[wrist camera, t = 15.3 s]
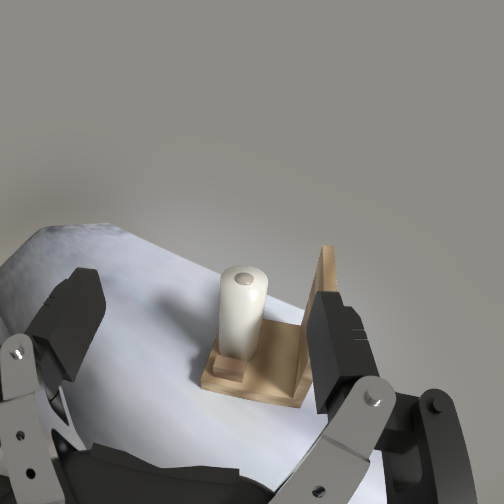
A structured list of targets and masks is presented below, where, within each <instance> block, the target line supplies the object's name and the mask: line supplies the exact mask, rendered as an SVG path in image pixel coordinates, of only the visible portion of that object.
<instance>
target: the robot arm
mask: <svg viewBox="0 0 504 504" xmlns="http://www.w3.org/2000/svg"><path fill="white" fill-rule="evenodd" d="M105 310H106V301H105V297H104V293H103V290H102V286H101V282H100V278H99V275H98V272H97V270H95V269H88V268H80V267H78V268H76V269H75V270H74V272H73V273H72V274H71V276H70V277H69V279H65V280H64V281H62V282H61V283H60V284H58V285H57V286H56V287H55V288H54V290H53V291H52V292H51V294H50V295H49V298H47V299H46V301H45V302H44V306H42V307H41V308H40V310H39V311H38V313H37V314H36V316H35V317H34V319H33V320H32V322H31V323H30V325H29V327H28V328H27V330H26V331H25V333H24V334H15V335H13V336H12V335H11V334H10V332H9V330H8V329H7V327H6V325H5V323H4V321H3V320H2V318H1V316H0V448H1V446H2V451H3V455H4V459H5V464H6V467H7V471H8V475H9V479H10V482H11V485H12V489H11V490H10V491H8V492H6V493H5V494H3V495H1V496H0V504H347V503H348V502H349V500H350V499H351V497H352V496H353V494H354V492H355V491H356V489H357V488H358V486H359V484H360V483H361V481H362V479H363V478H364V476H365V474H366V472H367V470H368V468H369V466H370V461H369V457H370V455H371V453H372V451H373V449H374V450H380V451H382V459H383V467H384V475H385V484H386V494H387V504H477V498H476V491H475V485H474V480H473V475H472V470H471V466H470V461H469V457H468V453H467V448H466V444H465V441H464V437H463V433H462V429H461V426H460V423H459V419H458V416H457V413H456V409H455V406H454V403H453V401H452V399H451V398H450V396H449V395H448V394H446V393H445V392H444V391H442V390H439V389H429V390H427V391H425V392H424V393H423V394H422V395H421V397H416V396H411V395H406V394H400V393H397V392H395V391H394V389H393V387H392V386H391V385H390V384H389V383H388V382H387V381H386V380H384V379H382V378H380V376H379V373H378V370H377V367H376V363H375V360H374V357H373V354H372V351H371V348H370V345H369V342H368V340H367V335H366V333H365V331H364V327H363V324H362V321H361V318H360V316H359V315H358V314H357V313H356V312H355V310H354V309H353V308H352V307H347V306H344V305H343V302H342V299H341V296H340V293H339V292H335V291H317V292H316V295H315V298H314V302H313V305H312V308H311V312H310V315H309V318H308V322H307V329H306V337H307V344H308V350H309V357H310V364H311V371H312V378H313V385H314V393H315V400H316V408H317V414H327V415H328V423H327V425H326V426H325V428H324V429H323V431H322V432H321V433H320V435H319V436H318V438H317V439H316V440H315V442H314V443H313V444H312V446H311V447H310V449H309V450H308V451H307V453H306V454H305V455H304V456H303V458H302V459H301V460H300V462H299V463H298V464H297V465H296V467H295V468H294V469H293V470H292V471H291V473H290V474H289V475H288V476H287V477H286V478H285V480H284V481H283V482H282V483H281V484H280V486H279V487H278V488H277V489H276V490H275V491H274V492H273V491H272V490H271V489H269V488H267V487H266V486H264V485H263V484H261V483H259V482H257V481H255V480H252V479H250V478H247V477H244V476H240V475H239V469H233V468H220V467H209V466H192V467H179V468H159V467H156V466H154V465H152V464H149V463H147V462H145V461H143V460H141V459H139V458H137V457H135V456H133V455H131V454H129V453H127V452H125V451H121V450H117V449H113V448H110V447H106V446H103V445H100V444H96V443H93V446H92V449H91V450H86V449H85V447H84V445H83V443H82V441H81V439H80V438H79V436H78V435H77V433H76V431H75V429H74V426H73V423H72V420H71V417H70V414H69V411H68V407H67V404H66V401H65V397H64V394H63V390H62V388H61V386H60V384H61V382H62V380H63V379H64V380H67V381H70V382H74V380H75V377H76V375H77V373H78V370H79V368H80V366H81V364H82V361H83V359H84V357H85V355H86V352H87V350H88V348H89V346H90V344H91V342H92V340H93V337H94V335H95V333H96V331H97V329H98V327H99V325H100V323H101V321H102V319H103V317H104V315H105Z"/></svg>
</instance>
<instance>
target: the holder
mask: <svg viewBox="0 0 504 504" xmlns="http://www.w3.org/2000/svg"><path fill="white" fill-rule="evenodd" d="M334 257H335V256H334V247H333V246H328V245H323V246H322V249H321V254H320V257H319V262H318V265H317V269H316V273H315V277H314V281H313V284H312V288H311V292H310V295H309V299H308V303H307V306H306V310H305V313H304V317H303V320H302V324H301V326H300V325H294V324H288V323H282V322H277V321H272V320H266V319H262V322H261V328H260V334H259V340H258V346H257V352H256V355H255V356H254V357H253V358H252V359H251V360H250V361H248V362H247V361H243V360H238V359H233V358H229V357H224V356H221V354H220V352H219V332H218V334H217V337H216V340H215V342H214V345H213V348H212V350H211V353H210V356H209V358H208V361H207V364H206V366H205V369H204V372H203V374H202V377H201V389H205V390H209V391H213V392H217V393H221V394H225V395H230V396H234V397H239V398H243V399H248V400H253V401H259V402H264V403H269V404H275V405H281V406H288V407H294V408H300V407H301V405H302V403H303V401H304V399H305V397H306V394H307V392H308V390H309V388H310V386H311V384H312V382H313V378H312V371H311V364H310V357H309V350H308V344H307V337H306V329H307V322H308V318H309V315H310V312H311V308H312V305H313V302H314V298H315V295H316V292H317V291H335V292H337V281H336V268H335V258H334Z"/></svg>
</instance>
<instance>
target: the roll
mask: <svg viewBox="0 0 504 504" xmlns="http://www.w3.org/2000/svg"><path fill="white" fill-rule="evenodd" d="M267 285H268V279H267V277H266V275H265V274H264V273H263V272H262V271H260V270H259V269H257V268H254V267H250V266H234V267H231V268H228V269H227V270H225V271H224V272H223V273H222V275H221V280H220V312H219V352H220V354H221V356H224V357H229V358H233V359H238V360H243V361H247V362H248V361H250V360H251V359H252V358H253V357H254V356H255V355H256V352H257V346H258V340H259V334H260V328H261V322H262V316H263V310H264V304H265V298H266V292H267Z"/></svg>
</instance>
